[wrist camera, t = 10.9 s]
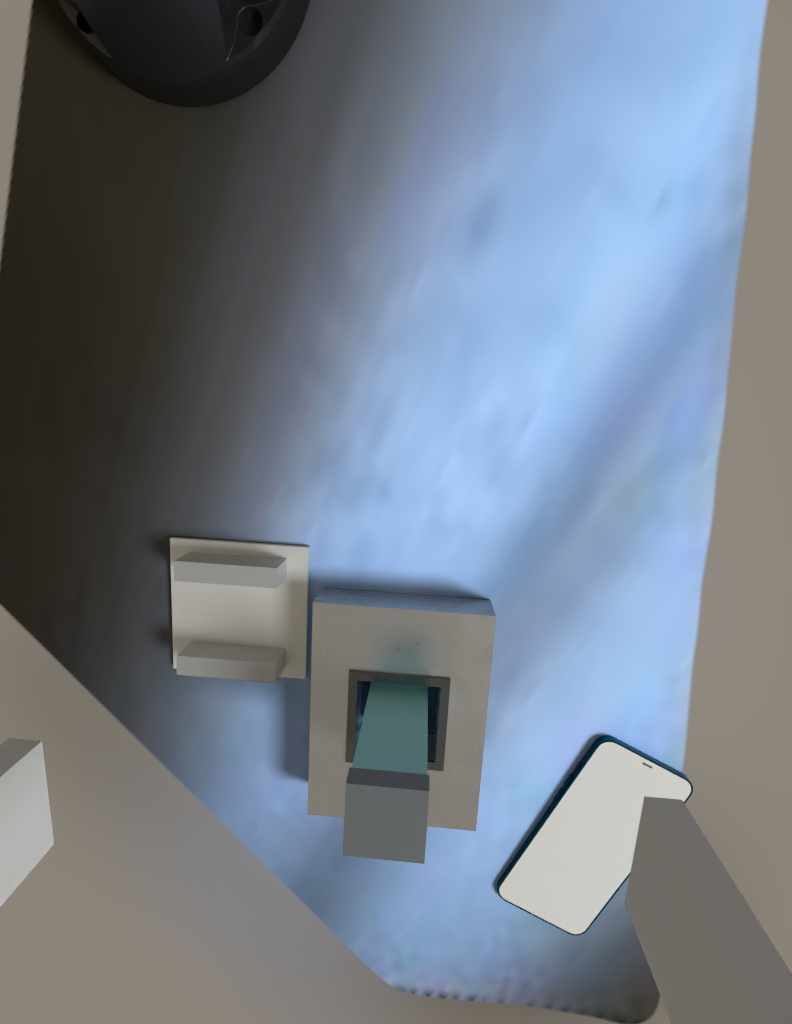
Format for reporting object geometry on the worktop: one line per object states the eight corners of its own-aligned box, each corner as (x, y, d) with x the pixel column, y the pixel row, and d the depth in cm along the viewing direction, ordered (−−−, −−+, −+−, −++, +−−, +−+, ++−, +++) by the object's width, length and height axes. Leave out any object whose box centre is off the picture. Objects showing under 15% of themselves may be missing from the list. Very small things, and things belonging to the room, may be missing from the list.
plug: (372, 668, 37) (345, 783, 25) (429, 673, 37) (429, 791, 25) (370, 720, 38) (342, 855, 26) (425, 725, 38) (424, 863, 26)
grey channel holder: (172, 536, 36) (151, 546, 34) (309, 546, 36) (299, 556, 33) (176, 665, 38) (156, 684, 35) (306, 676, 38) (296, 696, 35)
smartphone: (577, 928, 40) (693, 776, 37) (580, 940, 40) (699, 785, 36) (490, 883, 40) (599, 727, 37) (491, 894, 39) (603, 735, 36)
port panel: (322, 587, 36) (312, 603, 33) (490, 599, 36) (496, 617, 32) (316, 784, 39) (307, 816, 36) (472, 799, 38) (476, 833, 35)
